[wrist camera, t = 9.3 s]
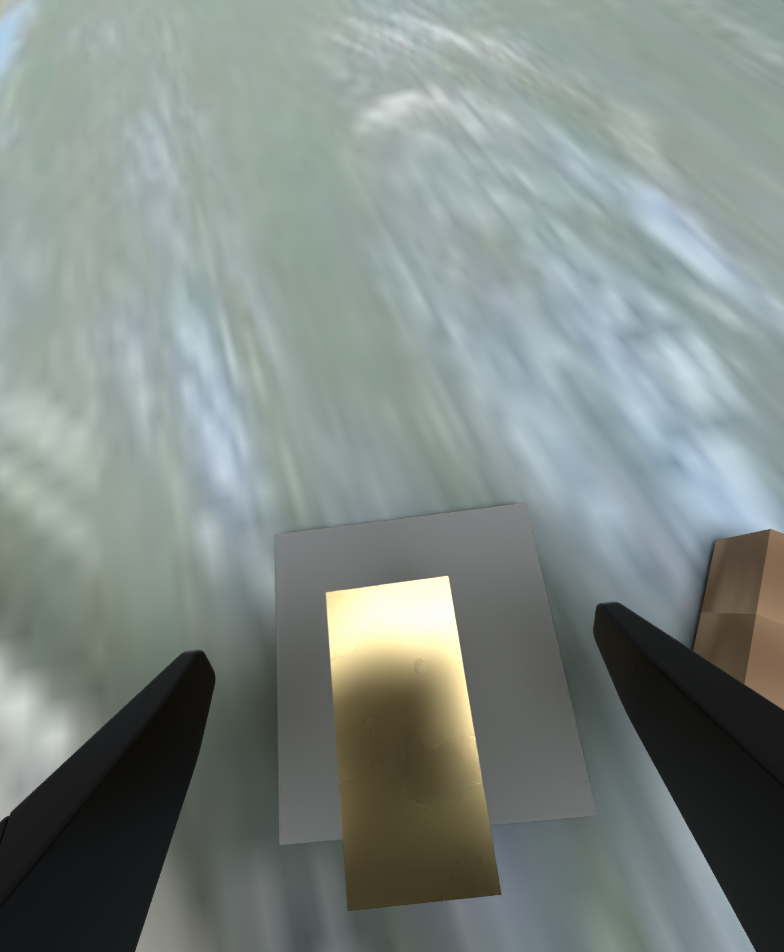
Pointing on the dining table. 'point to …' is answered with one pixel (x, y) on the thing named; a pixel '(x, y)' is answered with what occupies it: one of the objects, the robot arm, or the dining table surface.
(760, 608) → the slot block
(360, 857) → the t key
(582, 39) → the dining table surface
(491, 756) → the mat
